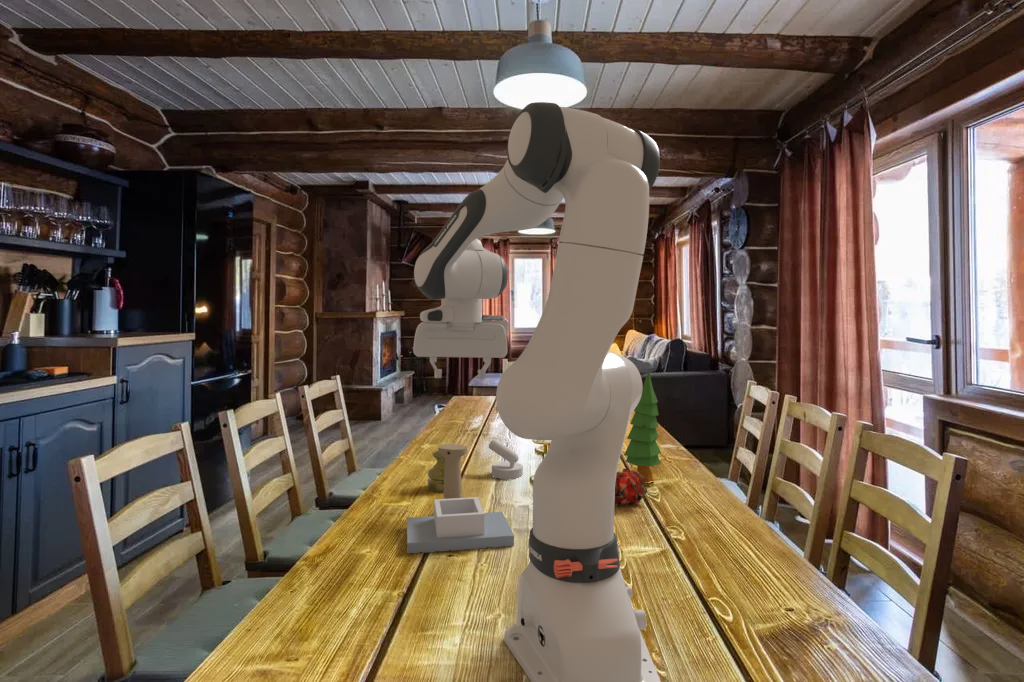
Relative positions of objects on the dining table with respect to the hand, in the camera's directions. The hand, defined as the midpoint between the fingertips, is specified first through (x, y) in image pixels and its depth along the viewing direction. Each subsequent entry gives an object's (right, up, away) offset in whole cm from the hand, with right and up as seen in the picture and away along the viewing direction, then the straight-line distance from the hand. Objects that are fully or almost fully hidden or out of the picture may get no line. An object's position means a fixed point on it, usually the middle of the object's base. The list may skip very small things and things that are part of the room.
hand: (459, 378), depth 118 cm
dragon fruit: (+38, -31, +10) cm, 50 cm away
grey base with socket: (+1, -31, -10) cm, 32 cm away
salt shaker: (-7, -30, +21) cm, 37 cm away
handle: (-2, -31, +2) cm, 31 cm away
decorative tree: (+46, -30, +28) cm, 62 cm away
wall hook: (+9, -29, +33) cm, 45 cm away
